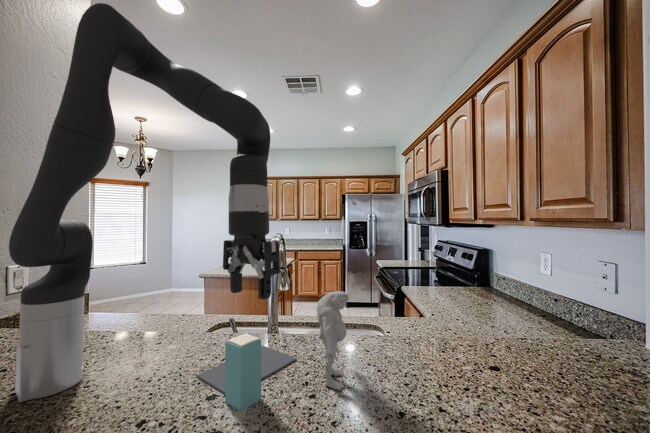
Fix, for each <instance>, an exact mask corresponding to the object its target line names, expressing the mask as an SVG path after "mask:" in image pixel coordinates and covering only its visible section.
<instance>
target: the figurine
mask: <svg viewBox="0 0 650 433" xmlns="http://www.w3.org/2000/svg"><path fill="white" fill-rule="evenodd" d="M349 299H350V296H349V294H348V293H346V292H345V291H342V290H336V291H335V290H334V291H330V292H328V293H326V294H325V295H323V296H322V297H321V298H320V299H318V302H317V305H316V306H317V307H316V316H317V320H318V323H319V334H318V338H319V339H320V340H322V341H323V346H324V347H325V352H324V359H325V361H324V369H325V371H324V377H326V380H325V382H324V385H325V386H326V387H329V388H331V389H333V390H337V391H340V392H341V391H342V389H344V383H343V382H339V381H336V380H335V379H333V378H332V376H335V377H338V376H339V377H342V376H343V373H342V371H341V370H340V369H338V368H336V369H334V368H333V364H334V363H333V362H334V361H336V362H338V361H339V360H338V357H337V355H340V350H339V349H338V347H337V346H338V342H342V341H344V339H345V338H346V337H347V326H346V323H345V322H344V321H343V315H342V313H341V310H343V309H344V308H346V307H345V306H346V305H347V303H348V301H349Z"/></svg>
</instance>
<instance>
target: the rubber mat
mask: <svg viewBox="0 0 650 433" xmlns="http://www.w3.org/2000/svg"><path fill="white" fill-rule="evenodd" d="M297 359H298V358H296V357H294V356H292V355H289V354H286V353H284V352H281V351H279V350H275V349H273V348H271V347H269V346H265V345H261V381H263V380H265V379H266V378H268V377H270V376H272V375H273V374H275V373H276V372H278V371H280V370H282V369H283V368H284V369H285V367H288V366H289V365H291V364H293V363H294V362H296V361H297ZM196 378H198V379H199V380H200V381H202V382H204V383H205V384H207V385H209V386H210V387H212V388H214V389H215V390H217V391H219V392H220V393H222V394H224V395H225V362H223V363H220V364H219V365H215V366H214V367H211V368H210V369H207V370H204V371H203V372H199V373H198V374H196Z"/></svg>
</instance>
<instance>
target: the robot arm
mask: <svg viewBox="0 0 650 433" xmlns="http://www.w3.org/2000/svg"><path fill="white" fill-rule="evenodd" d="M113 68H115V69H117V70H118V71H120V72H123V73H126V74H128V75H130V76H133V77H135V78H138V79H140V80H142V81H144V82H147V83H150V84H151V85H154V86H155V87H157V88H159V89H161V90H162V91H163V92H165V93H166V94H167V95H169V96H170V97H172V99H174V100H176V101H177V102H178V103H179V104H181V106H184V107H185V108H186V109H188V110H190V111H191V112H193V113H194V114H196V115H197V116H198V117H201V118H202V119H203V120H206V121H208V122H210V123H213V124H215V125H216V126H217V127H219V128H221V129H222V130H224V131H225V132H226V133H227V134H229V135H231V137H233V138H234V139H235V140H236V144H237V145H236V146H237V148H236V155H235V156H233V158H232V159H230V165H229V193H228V235H230V236H233V237H234V238H233V239H230V240H229V239H228V240H226V239H225V240H224V241H223V248H222V249H223V252H222V255H223V256H222V269H223V271H226V270H227V272H228V274H229V275H230V276H229V279H230V280H229V282H230V284H229V286H230V287H229V288H230V292H231V294H232V293H233V294H238V293H241V292H242V291H243V273H242V272H243V269H244V267H245V265H250V266H251V268H252V269H254V270H255V271H256V273H257V274H256V275H258V278H257V280H258V281H257V286H258V287H257V288H258V289H257V291H258V292H257V293H258V294H257V296H258V299H259V300H262V301H263V300H267V299H270V297H271V295H272V278H273V276H275V275H279V274H280V273H281V266H280V264H281V262H280V244H279V242H278V241H277V240H268V241H267V239H266V235H268V234H269V233H270V199H269V197H270V196H269V189H268V160H269V156H270V155H269V154H270V147H271V129H270V126H269V123H268V121H267V119H266V118H265V117H264V115H263V114H262V112H261V111H260V109H259V108H258V107H257V106H256V104H253V103H252V102H251V101H249V100H248V99H246V98H244V97H242V96H241V95H238V94H236V93H233V92H231V91H229V90H226V89H224V88H223V87H221V86H220V85H219V84H217V83H215V82H214V81H212V80H211V79H209V78H208V77H206V76H204V75H203V74H201V73H199V72H197V71H196V70H194V69H192V68H189V67H186V66H183V65H180V64H178V63H176V62H174V61H173V60H171V59H170V58H168V57H167V56H166V55H164V54H163V52H161V51H160V50H159V49H158V48H157V47H156V46H155V45H154V44H152V42H151V41H150V40H148V38H147V37H146V36H145V34H144V33H143V32H142V31H141V30H140V29H139V28H138V27H136V26H135V25H134V23H132V21H130V20H129V19H128V18H127V17H126V16H124V15H123V14H122V13H121V12H120V11H119V10H117V9H116V8H115V7H113V6H112V5H110V4H108V3H105V2H104V3H103V2H98V3H94V4H92V5H91V6H88V8H87V9H86V10H85V11H84V12H83V14H82V16H81V17H80V19H79V21H78V25H77V29H76V34H75V38H74V45H73V49H72V56H71V62H70V66H69V72H68V76H67V80H66V84H65V87H64V90H63V94H62V98H61V101H60V104H59V107H58V110H57V112H56V116H55V117H54V118H55V119H54V121H53V124H52V126H51V128H50V133H49V135H48V138H47V142H46V147H45V149H44V152H43V157H42V159H41V162H40V165H39V168H38V172H37V174H36V177H35V180H34V182H33V184H32V187H31V190H30V192H29V194H28V196H27V198H26V200H25V202H24V204H23V205H22V208H21V210H20V212H19V215H18V217H17V219H16V221H15V222H14V225H13V227H12V230H11V233H10V237H9V242H8V251H9V257H10V259H11V261H13V263H15V264H16V265H17V266H19V267H24V268H38V267H39V268H40V267H46V266H47V267H48V266H50V267H49V270H48V272H47V273H46V274H45V275H43V276H42V277H41V278H40V279H38V280H36V281H34V282H31V283H29V284H27V285H26V286H24V287H23V289H21V292H20V308H19V333H18V341H17V342H16V360H15V383H14V385H15V386H14V392H15V395H16V398H17V401H18V403H23V402H27V401H30V400H36V399H37V400H38V399H42V398H46V397H50V396H52V395H53V396H54V395H57V394H59V393H61V392H63V391H66V390H68V389H70V388H72V387H74V386H75V385H77V384H78V383H80V381H82V378H83V369H84V367H83V365H84V336H85V335H84V334H85V333H84V330H85V329H84V328H85V301H86V300H85V294H86V287H87V285H88V283H89V280H90V276H91V269H92V268H91V266H92V257H93V242H94V241H93V235H92V232H91V229H90V227H89V226H88V224H86V223H85V222H83V221H81V220H78V219H66V218H64V219H63V218H62V216H63V215H64V212H65V211H66V210H65V209H66V208H67V206H68V204H69V202H70V201H71V200H72V198H74V196H75V195H76V194H77V193H78V192H79V191H80V190H82V189H83V188H84V187H85V186H86V185H87V184H88V183H90V182H91V181H92V180H93V179H95V177H97V176H98V175H99V174H100V173H101V172H102V171H103V170H104V168H105V167H106V166H107V163H108V161H109V158H110V155H111V152H112V151H113V150H112V149H113V146H114V144H115V143H114V142H115V140H116V126H115V118H114V115H113V114H114V113H113V110H112V106H111V100H110V97H109V95H110V94H109V86H110V79H111V75H112V71H113ZM229 259H230V260H229ZM272 265H273V267H272Z"/></svg>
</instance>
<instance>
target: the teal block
mask: <svg viewBox="0 0 650 433" xmlns="http://www.w3.org/2000/svg"><path fill="white" fill-rule="evenodd" d="M261 346H262V339H260V337H257V336H254V335H252V334H249V333H247V332H245V333H243V334H240V335H237V336H235V337H232V338H230V339H227V341H225V354H224V355H225V362H224V363H225V394H224V403H225V404H227V405H229V406H230V407H232V408H233V409H235V410H236V411H238V412H239V413H241V412H243V411H244V410H246V409H247V408H248V407H250V406H253V404H256V403H257V402H258V401H260V400H261V399H262V380H261Z"/></svg>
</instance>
